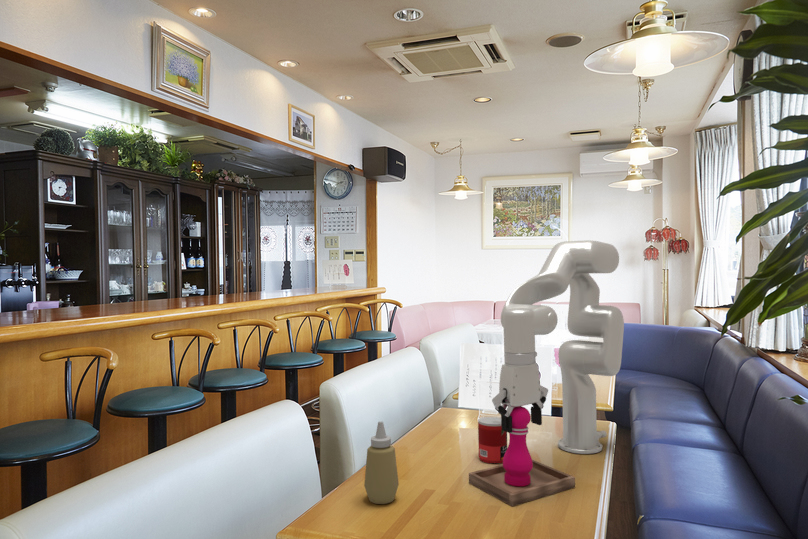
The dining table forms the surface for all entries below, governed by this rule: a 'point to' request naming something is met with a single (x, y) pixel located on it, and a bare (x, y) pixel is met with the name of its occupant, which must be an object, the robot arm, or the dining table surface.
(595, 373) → the robot arm
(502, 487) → the walnut tray
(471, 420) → the dining table surface
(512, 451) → the pepper mill
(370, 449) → the squeeze bottle
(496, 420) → the canned food
